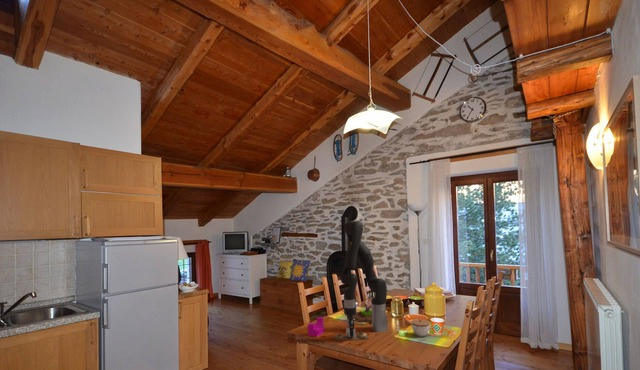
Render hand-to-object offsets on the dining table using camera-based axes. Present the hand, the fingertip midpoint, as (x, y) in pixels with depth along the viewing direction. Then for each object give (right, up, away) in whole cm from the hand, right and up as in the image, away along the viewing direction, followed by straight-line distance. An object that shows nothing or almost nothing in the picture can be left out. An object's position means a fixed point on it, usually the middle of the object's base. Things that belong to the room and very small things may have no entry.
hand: (350, 333), depth 216 cm
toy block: (-20, -5, +12) cm, 24 cm away
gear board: (0, -3, 0) cm, 3 cm away
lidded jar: (+44, -2, +3) cm, 44 cm away
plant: (+15, -5, +37) cm, 40 cm away
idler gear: (0, -1, 0) cm, 1 cm away
